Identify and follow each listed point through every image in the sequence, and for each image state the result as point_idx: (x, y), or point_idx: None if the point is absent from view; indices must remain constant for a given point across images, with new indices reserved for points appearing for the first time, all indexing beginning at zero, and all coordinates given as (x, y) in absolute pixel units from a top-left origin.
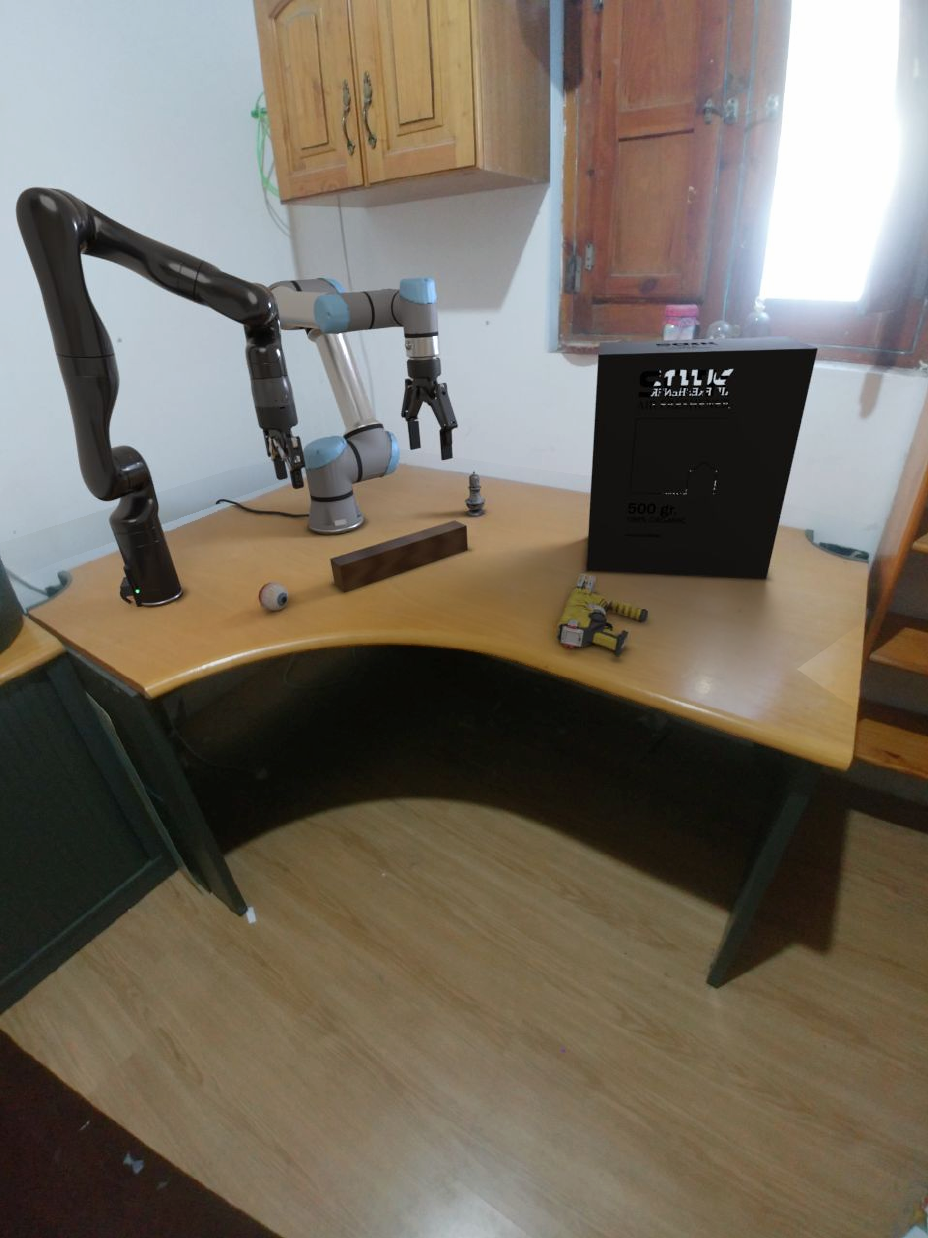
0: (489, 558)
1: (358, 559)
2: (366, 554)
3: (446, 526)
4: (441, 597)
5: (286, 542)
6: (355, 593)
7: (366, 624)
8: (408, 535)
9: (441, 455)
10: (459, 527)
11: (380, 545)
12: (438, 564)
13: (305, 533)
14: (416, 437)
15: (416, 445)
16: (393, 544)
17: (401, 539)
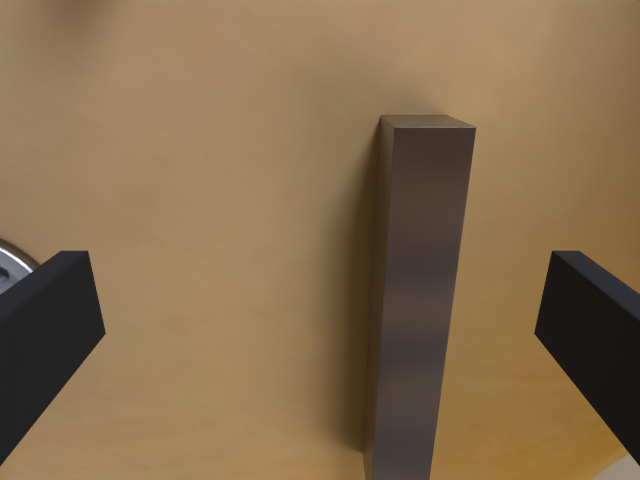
0: (549, 102)
1: (427, 476)
2: (415, 453)
3: (423, 189)
4: None
5: (47, 442)
6: None
7: (555, 474)
8: (388, 321)
9: (557, 354)
10: (469, 160)
11: (391, 408)
12: None
13: None
14: (40, 339)
15: (82, 304)
16: (413, 381)
17: (400, 350)
